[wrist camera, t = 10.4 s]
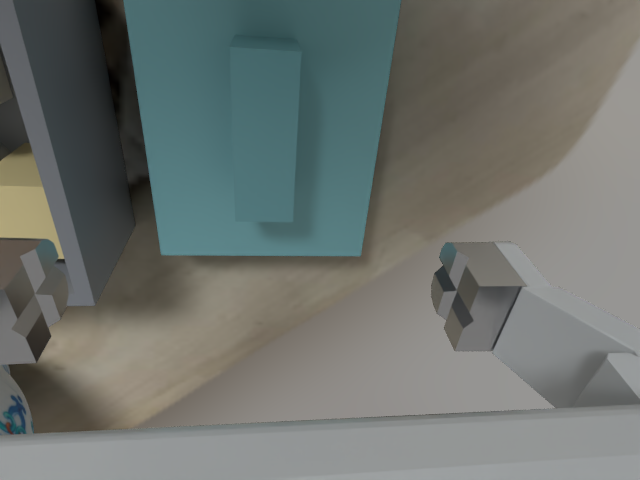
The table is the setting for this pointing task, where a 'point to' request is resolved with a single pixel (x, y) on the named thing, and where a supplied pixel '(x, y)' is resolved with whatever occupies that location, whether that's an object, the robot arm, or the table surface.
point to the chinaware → (13, 406)
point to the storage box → (61, 141)
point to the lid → (261, 120)
